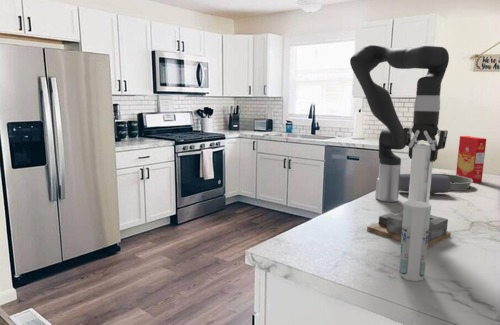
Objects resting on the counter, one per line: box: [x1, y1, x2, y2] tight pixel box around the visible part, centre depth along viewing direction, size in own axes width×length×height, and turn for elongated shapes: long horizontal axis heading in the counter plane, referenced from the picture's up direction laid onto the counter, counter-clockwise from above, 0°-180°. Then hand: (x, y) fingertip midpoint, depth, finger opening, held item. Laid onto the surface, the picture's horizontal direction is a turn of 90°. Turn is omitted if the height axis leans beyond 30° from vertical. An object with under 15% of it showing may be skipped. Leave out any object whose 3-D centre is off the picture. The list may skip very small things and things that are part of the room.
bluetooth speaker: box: [399, 173, 451, 196], centre depth 184 cm, size 23×9×10 cm, turn 80°
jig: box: [366, 211, 452, 248], centre depth 130 cm, size 21×18×6 cm
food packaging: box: [455, 135, 487, 184], centre depth 215 cm, size 15×5×25 cm, turn 6°
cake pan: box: [432, 173, 473, 191], centre depth 202 cm, size 25×25×4 cm
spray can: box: [398, 200, 432, 282], centre depth 98 cm, size 6×6×20 cm
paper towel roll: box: [407, 143, 434, 204], centre depth 125 cm, size 6×6×25 cm
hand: (422, 159), depth 124 cm, fingers closed on paper towel roll, 6 cm apart
